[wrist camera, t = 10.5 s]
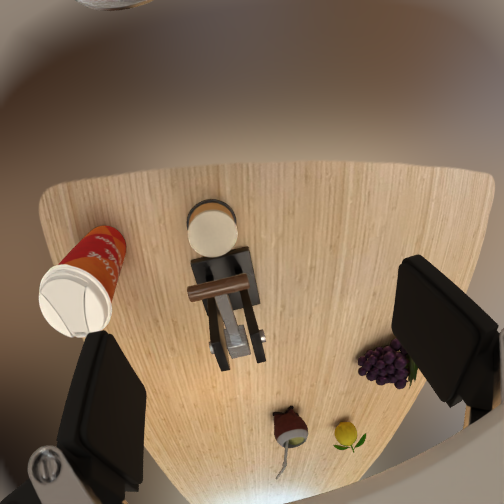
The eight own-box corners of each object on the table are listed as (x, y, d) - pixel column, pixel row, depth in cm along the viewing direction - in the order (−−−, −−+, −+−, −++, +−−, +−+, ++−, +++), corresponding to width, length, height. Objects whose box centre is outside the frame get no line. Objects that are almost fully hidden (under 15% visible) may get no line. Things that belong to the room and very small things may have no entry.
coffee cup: (140, 269, 41) (119, 340, 28) (88, 275, 40) (52, 343, 27) (127, 211, 37) (93, 267, 24) (72, 221, 36) (22, 276, 23)
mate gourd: (306, 405, 61) (326, 461, 48) (290, 424, 64) (306, 477, 50) (276, 403, 59) (293, 463, 45) (261, 423, 62) (275, 479, 48)
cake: (181, 206, 38) (179, 216, 35) (230, 194, 39) (233, 203, 35) (193, 250, 41) (193, 264, 38) (240, 239, 42) (244, 252, 38)
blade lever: (185, 278, 25) (188, 301, 24) (244, 264, 26) (250, 287, 24) (216, 343, 34) (219, 361, 33) (258, 333, 34) (263, 351, 33)
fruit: (354, 335, 58) (422, 325, 55) (353, 374, 61) (415, 364, 59) (364, 366, 48) (440, 353, 46) (360, 406, 51) (429, 394, 49)
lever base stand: (190, 260, 42) (189, 330, 29) (247, 246, 42) (271, 311, 29) (207, 311, 46) (213, 387, 33) (259, 299, 46) (282, 371, 33)
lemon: (356, 412, 67) (370, 443, 58) (349, 425, 69) (362, 454, 61) (332, 417, 66) (346, 449, 57) (326, 429, 68) (338, 460, 59)
